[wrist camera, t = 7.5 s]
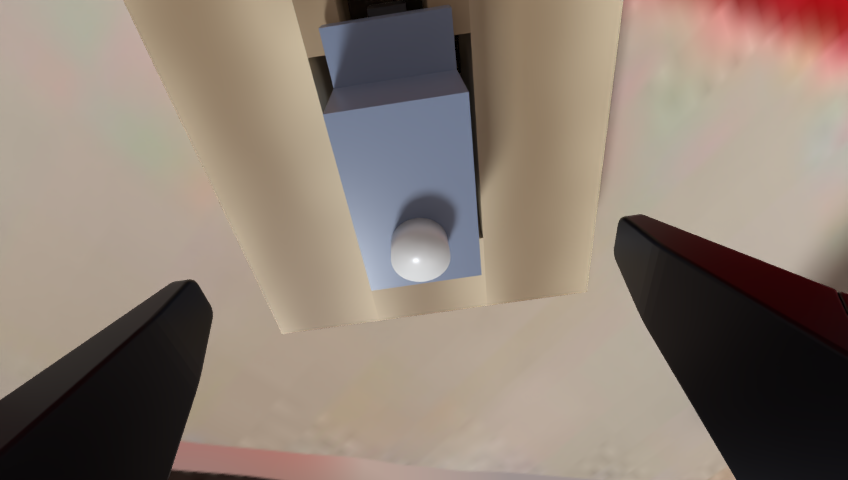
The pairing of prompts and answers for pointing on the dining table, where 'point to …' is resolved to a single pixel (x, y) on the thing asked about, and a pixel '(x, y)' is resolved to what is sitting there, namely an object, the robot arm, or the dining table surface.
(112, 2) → the dining table surface
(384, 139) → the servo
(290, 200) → the frame
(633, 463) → the dining table surface
